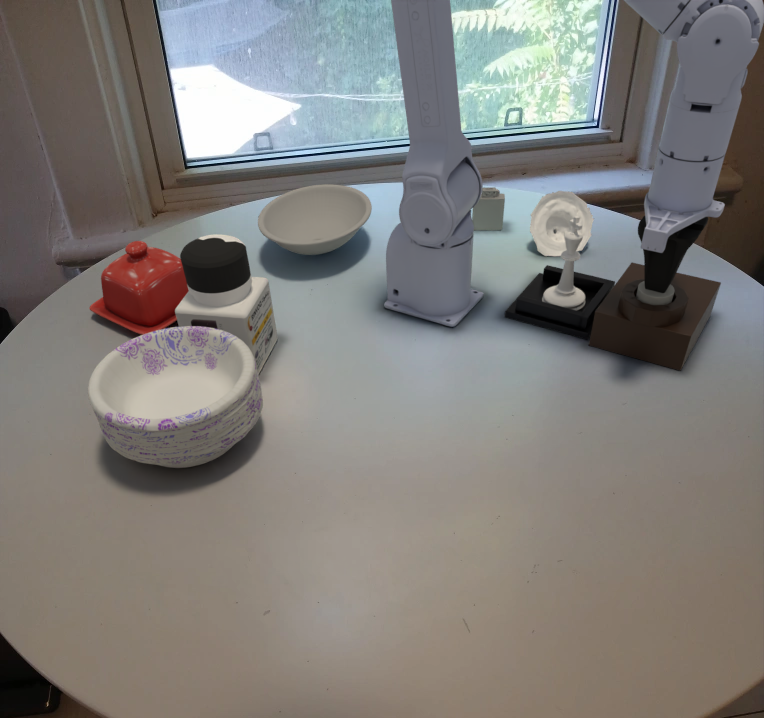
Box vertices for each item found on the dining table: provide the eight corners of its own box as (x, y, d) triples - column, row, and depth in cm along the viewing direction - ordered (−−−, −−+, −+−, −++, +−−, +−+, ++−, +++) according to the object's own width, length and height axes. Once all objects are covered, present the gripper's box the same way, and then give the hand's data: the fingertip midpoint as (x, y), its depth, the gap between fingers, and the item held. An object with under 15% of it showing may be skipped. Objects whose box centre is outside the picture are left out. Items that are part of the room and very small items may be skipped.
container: (257, 378, 78) (235, 265, 69) (190, 372, 79) (159, 260, 70) (279, 338, 83) (261, 228, 74) (215, 333, 85) (189, 224, 75)
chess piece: (559, 316, 83) (572, 231, 76) (533, 297, 86) (543, 213, 79) (594, 304, 84) (610, 220, 77) (567, 286, 87) (580, 203, 80)
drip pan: (504, 317, 85) (506, 299, 83) (538, 278, 90) (540, 261, 89) (587, 339, 81) (590, 321, 79) (617, 297, 87) (621, 280, 85)
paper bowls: (127, 510, 65) (98, 443, 59) (101, 414, 75) (75, 348, 69) (288, 460, 69) (276, 392, 63) (244, 374, 79) (230, 309, 73)
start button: (630, 307, 76) (633, 292, 75) (640, 291, 78) (644, 276, 77) (664, 315, 75) (668, 300, 73) (674, 299, 77) (679, 284, 75)
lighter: (501, 224, 101) (506, 164, 95) (502, 230, 100) (507, 170, 94) (450, 224, 101) (452, 165, 96) (450, 230, 100) (451, 170, 94)
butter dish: (149, 347, 83) (128, 278, 77) (87, 317, 88) (62, 250, 82) (222, 302, 89) (207, 235, 83) (160, 277, 94) (142, 212, 88)
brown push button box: (587, 346, 80) (597, 297, 76) (624, 295, 87) (634, 247, 83) (679, 372, 76) (695, 321, 72) (710, 316, 83) (726, 267, 79)
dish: (291, 215, 105) (287, 180, 102) (387, 224, 102) (386, 188, 99) (243, 275, 94) (236, 238, 90) (350, 287, 91) (347, 248, 87)
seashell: (560, 267, 100) (599, 215, 97) (566, 272, 95) (607, 217, 92) (513, 232, 98) (551, 178, 95) (517, 235, 93) (557, 178, 90)
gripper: (717, 188, 59) (675, 332, 69) (756, 129, 68) (714, 265, 78) (632, 173, 62) (603, 314, 72) (680, 118, 71) (648, 251, 80)
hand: (656, 288), depth 75 cm, fingers closed
